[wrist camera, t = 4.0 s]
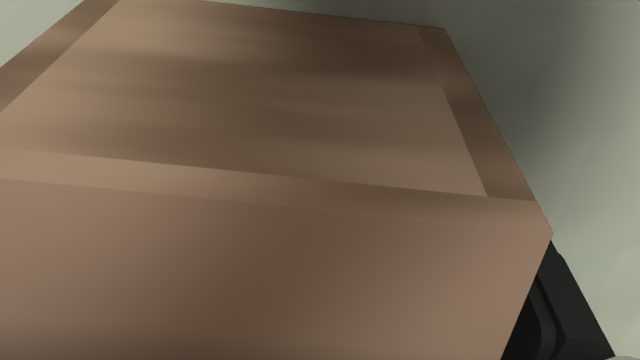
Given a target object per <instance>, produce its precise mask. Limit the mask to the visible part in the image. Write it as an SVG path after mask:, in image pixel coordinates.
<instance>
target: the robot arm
mask: <svg viewBox="0 0 640 360" xmlns="http://www.w3.org/2000/svg"><path fill="white" fill-rule="evenodd" d="M500 360H640V359H637V358H633V357H629V356H615V354H614V352H613V350H612V348H611V346H610V344H609V343H608V341H607V339H606V337H605V335H604V333H603V331H602V329H601V328H600V326H599V324H598V322H597V320H596V318H595V316H594V314H593V312H592V311H591V309H590V307H589V305H588V303H587V301H586V299H585V297H584V296H583V294H582V292H581V290H580V288H579V286H578V284H577V282H576V281H575V279H574V277H573V275H572V273H571V271H570V269H569V267H568V265H567V264H566V262H565V260H564V258H563V257H562V256H561V254H559V253H558V252H557V250H556V249H555V247H554V245H553V243H552V241H551V240H550V242H549V244H548V247H547V249H546V252H545V254H544V256H543V259H542V261H541V264H540V266H539V268H538V271H537V273H536V275H535V278H534V280H533V283H532V285H531V287H530V290H529V292H528V294H527V297H526V299H525V302H524V304H523V306H522V309H521V311H520V314H519V316H518V318H517V321H516V323H515V325H514V328H513V330H512V333H511V335H510V337H509V340H508V342H507V345H506V347H505V349H504V352H503V354H502V356H501V359H500Z"/></svg>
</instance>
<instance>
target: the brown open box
mask: <svg viewBox="0 0 640 360" xmlns="http://www.w3.org/2000/svg"><path fill="white" fill-rule="evenodd" d="M552 235H553V231H552V229H551V227H550V225H549V223H548V222H547V220H546V218H545V216H544V214H543V212H542V210H541V208H540V207H539V205H538V203H537V201H536V199H535V197H534V195H533V194H532V192H531V190H530V188H529V186H528V184H527V182H526V181H525V179H524V177H523V175H522V173H521V171H520V169H519V168H518V166H517V164H516V162H515V160H514V158H513V156H512V154H511V153H510V151H509V149H508V147H507V145H506V143H505V141H504V140H503V138H502V136H501V134H500V132H499V130H498V128H497V127H496V125H495V123H494V121H493V119H492V117H491V115H490V114H489V112H488V110H487V108H486V106H485V104H484V102H483V101H482V99H481V97H480V95H479V93H478V91H477V89H476V87H475V86H474V84H473V82H472V80H471V78H470V76H469V74H468V73H467V71H466V69H465V67H464V65H463V63H462V61H461V60H460V58H459V56H458V54H457V52H456V50H455V48H454V47H453V45H452V43H451V41H450V39H449V37H448V35H447V34H446V32H445V30H444V29H440V28H431V27H423V26H414V25H406V24H397V23H389V22H380V21H372V20H363V19H355V18H346V17H338V16H329V15H321V14H312V13H304V12H295V11H287V10H278V9H270V8H261V7H253V6H244V5H236V4H227V3H219V2H210V1H202V0H84V1H83V2H81V3H80V4H79V5H78V6H76V7H75V8H74V9H73V10H71V11H70V12H69V13H68V14H66V15H65V16H64V17H63V18H62V19H60V20H59V21H58V22H57V23H55V24H54V25H53V26H52V27H50V28H49V29H48V30H47V31H45V32H44V33H43V34H42V35H40V36H39V37H38V38H37V39H35V40H34V41H33V42H32V43H30V44H29V45H28V46H27V47H25V48H24V49H23V50H22V51H20V52H19V53H18V54H17V55H16V56H14V57H13V58H12V59H11V60H9V61H8V62H7V63H6V64H4V65H3V66H2V67H1V68H0V360H500V359H501V356H502V354H503V352H504V349H505V347H506V345H507V342H508V340H509V337H510V335H511V333H512V330H513V328H514V325H515V323H516V321H517V318H518V316H519V314H520V311H521V309H522V306H523V304H524V302H525V299H526V297H527V294H528V292H529V290H530V287H531V285H532V283H533V280H534V278H535V275H536V273H537V271H538V268H539V266H540V264H541V261H542V259H543V256H544V254H545V252H546V249H547V247H548V244H549V242H550V240H551V237H552Z"/></svg>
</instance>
